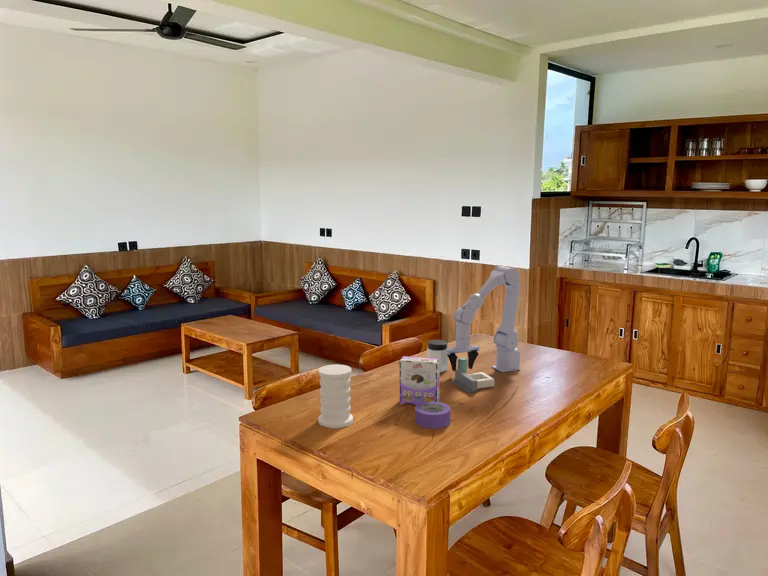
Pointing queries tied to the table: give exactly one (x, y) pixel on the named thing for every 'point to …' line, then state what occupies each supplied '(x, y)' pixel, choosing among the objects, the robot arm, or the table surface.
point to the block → (482, 380)
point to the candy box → (419, 380)
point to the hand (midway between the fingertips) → (462, 369)
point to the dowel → (462, 364)
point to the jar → (438, 353)
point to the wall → (465, 382)
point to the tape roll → (432, 415)
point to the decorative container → (335, 396)
